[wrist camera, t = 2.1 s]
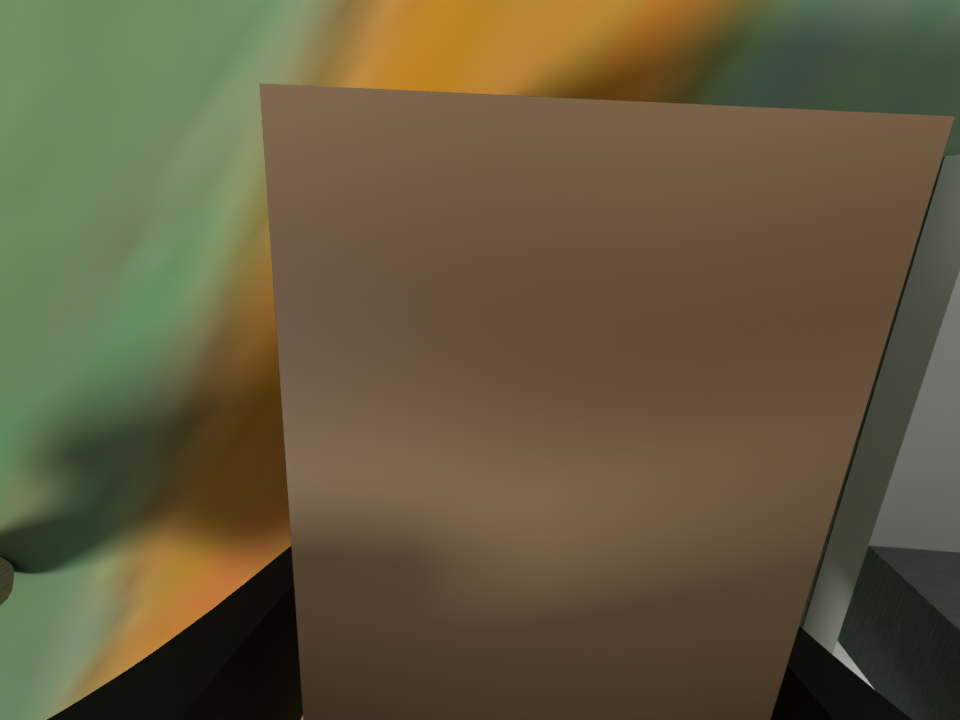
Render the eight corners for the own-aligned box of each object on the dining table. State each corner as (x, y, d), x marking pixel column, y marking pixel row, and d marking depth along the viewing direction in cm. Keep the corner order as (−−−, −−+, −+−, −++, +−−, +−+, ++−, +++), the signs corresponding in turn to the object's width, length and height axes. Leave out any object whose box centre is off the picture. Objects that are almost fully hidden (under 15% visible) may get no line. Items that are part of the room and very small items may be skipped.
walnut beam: (579, 778, 14) (629, 1179, 8) (405, 760, 14) (332, 1138, 8) (676, 176, 9) (954, 115, 3) (412, 162, 9) (259, 83, 4)
